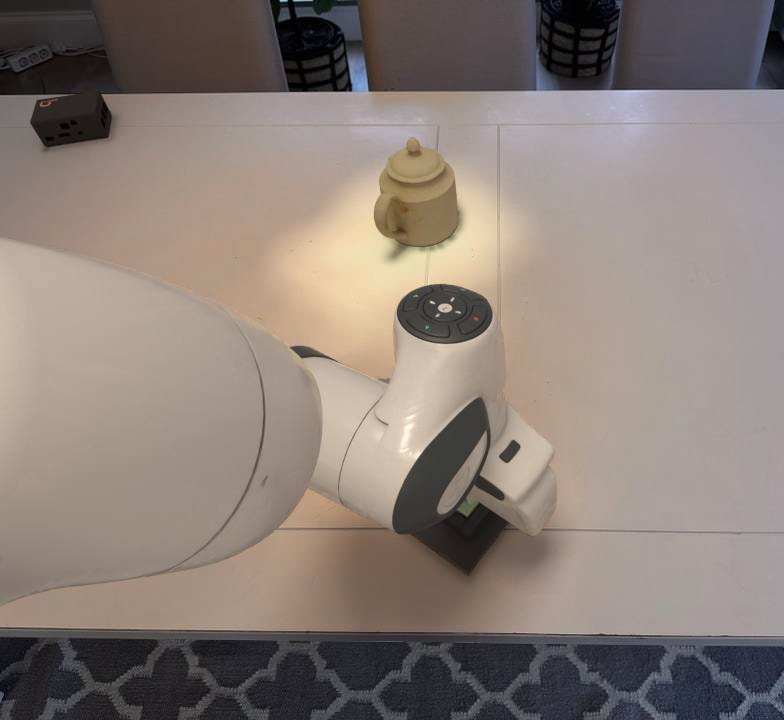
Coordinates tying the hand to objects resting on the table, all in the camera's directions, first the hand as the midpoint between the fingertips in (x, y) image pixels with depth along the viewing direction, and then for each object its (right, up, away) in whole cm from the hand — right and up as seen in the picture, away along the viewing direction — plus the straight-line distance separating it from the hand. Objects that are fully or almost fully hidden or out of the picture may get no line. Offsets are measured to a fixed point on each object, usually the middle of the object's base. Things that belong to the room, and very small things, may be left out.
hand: (465, 493), depth 72 cm
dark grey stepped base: (0, -2, +3) cm, 3 cm away
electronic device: (-71, +55, +49) cm, 103 cm away
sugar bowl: (-7, +34, +31) cm, 46 cm away
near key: (0, -1, +1) cm, 2 cm away
